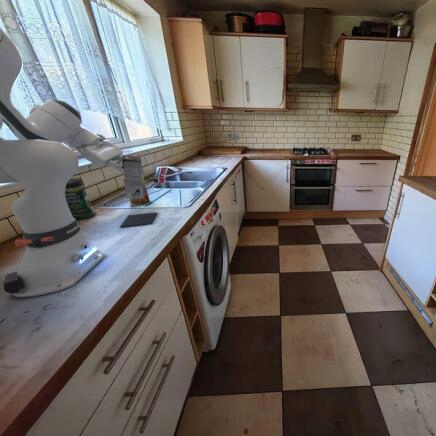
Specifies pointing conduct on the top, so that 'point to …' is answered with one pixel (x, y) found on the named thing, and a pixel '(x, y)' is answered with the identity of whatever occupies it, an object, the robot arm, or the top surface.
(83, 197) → the dark green food bag
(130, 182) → the coffee box
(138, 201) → the candy box
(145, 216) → the mat
